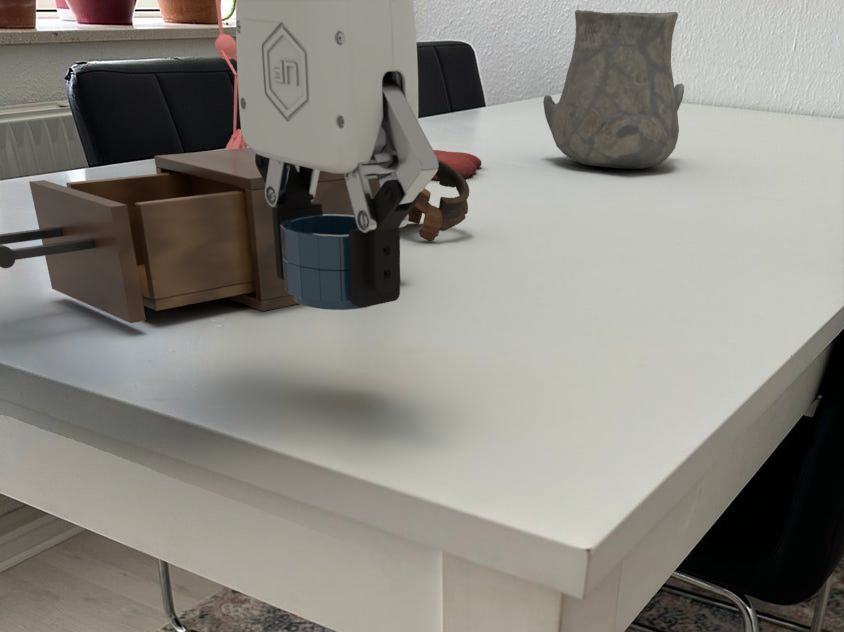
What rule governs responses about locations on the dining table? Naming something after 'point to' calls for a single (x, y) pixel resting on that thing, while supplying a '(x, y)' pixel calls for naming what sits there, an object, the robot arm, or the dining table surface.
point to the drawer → (140, 241)
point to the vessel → (618, 92)
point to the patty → (459, 162)
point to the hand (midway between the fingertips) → (337, 286)
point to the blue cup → (318, 260)
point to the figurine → (228, 51)
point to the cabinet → (259, 211)
